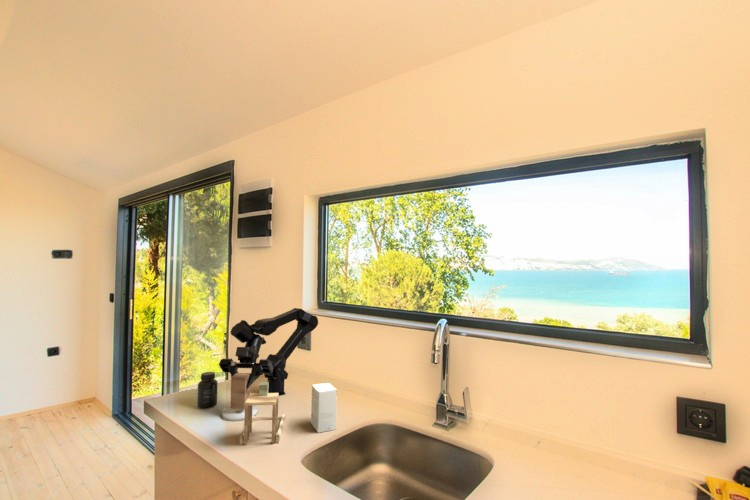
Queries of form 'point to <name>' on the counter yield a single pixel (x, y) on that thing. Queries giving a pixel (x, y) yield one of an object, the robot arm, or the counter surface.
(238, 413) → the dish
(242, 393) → the walnut block
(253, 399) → the wooden toy stool
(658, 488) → the counter surface
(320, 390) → the small box
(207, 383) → the supplement bottle
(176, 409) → the counter surface
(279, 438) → the track
